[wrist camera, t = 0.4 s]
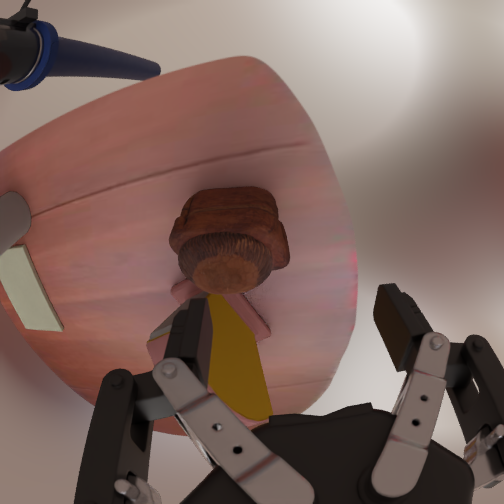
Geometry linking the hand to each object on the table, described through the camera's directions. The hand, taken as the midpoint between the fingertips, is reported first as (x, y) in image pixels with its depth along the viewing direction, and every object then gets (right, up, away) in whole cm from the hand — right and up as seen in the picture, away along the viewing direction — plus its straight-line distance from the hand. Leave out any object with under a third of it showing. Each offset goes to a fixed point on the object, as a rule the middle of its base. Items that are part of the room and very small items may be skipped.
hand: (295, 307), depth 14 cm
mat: (-48, -5, +34) cm, 59 cm away
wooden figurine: (-4, +9, +28) cm, 29 cm away
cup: (-43, +9, +27) cm, 52 cm away
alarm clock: (-7, -7, +36) cm, 38 cm away
